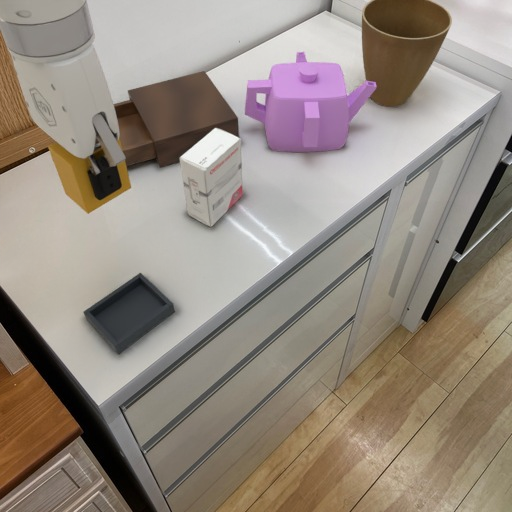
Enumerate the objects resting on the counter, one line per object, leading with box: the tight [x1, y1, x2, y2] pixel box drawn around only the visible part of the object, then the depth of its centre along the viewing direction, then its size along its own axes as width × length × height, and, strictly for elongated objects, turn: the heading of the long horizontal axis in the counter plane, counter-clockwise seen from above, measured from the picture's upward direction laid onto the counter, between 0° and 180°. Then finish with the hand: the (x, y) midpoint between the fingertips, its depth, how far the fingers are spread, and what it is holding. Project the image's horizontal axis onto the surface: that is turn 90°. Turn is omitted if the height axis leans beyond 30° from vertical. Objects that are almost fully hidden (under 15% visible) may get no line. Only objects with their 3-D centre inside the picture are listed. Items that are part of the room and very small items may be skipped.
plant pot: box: [361, 0, 453, 108], centre depth 96 cm, size 15×15×16 cm
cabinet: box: [127, 70, 240, 168], centre depth 94 cm, size 15×16×6 cm
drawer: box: [113, 99, 157, 167], centre depth 90 cm, size 17×14×4 cm
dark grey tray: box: [83, 272, 176, 355], centre depth 70 cm, size 9×7×2 cm
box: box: [47, 139, 132, 215], centre depth 59 cm, size 6×4×7 cm
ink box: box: [179, 128, 243, 228], centre depth 79 cm, size 9×5×12 cm, turn 145°
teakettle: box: [244, 51, 377, 153], centre depth 91 cm, size 17×17×12 cm
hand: (95, 180), depth 60 cm, fingers closed on box, 4 cm apart
